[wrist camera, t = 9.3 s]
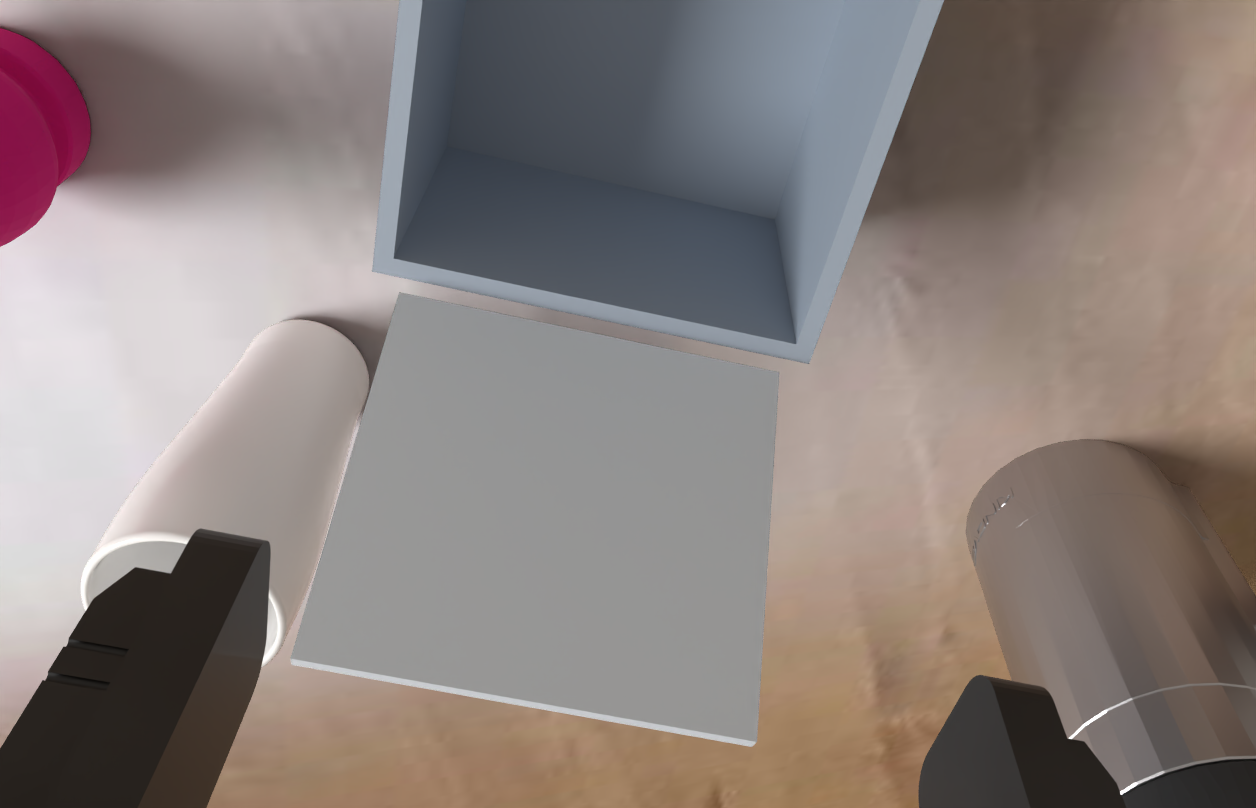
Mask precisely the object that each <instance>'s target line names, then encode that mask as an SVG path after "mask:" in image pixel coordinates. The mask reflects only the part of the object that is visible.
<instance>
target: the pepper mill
mask: <svg viewBox="0 0 1256 808" xmlns="http://www.w3.org/2000/svg"><path fill="white" fill-rule="evenodd" d="M90 136H91V128H90V118H89V114H88V111H87V108H86V104H85V101H84V99H83V97H82V95H81V93H80V91H79V89H78V87H77V85H76V83H75V81H74V80H73V79H72V78H71V76H70V75H69V74H68V72H67V71H66V70H65V69H64V67H63V66H62V65H61V64H60V63H59V62H58V60H57V59H55V58H54V57H53V56H52V55H50V54H49V53H48V52H47V51H45V50H44V49H43V48H41V47H40V46H39V45H37V44H36V43H35V42H33V41H32V40H30V39H28V38H26V37H24V36H22V35H19V34H16V33H14V32H11V31H9V30H6V29H2V28H0V247H1V246H3V245H5V244H7V243H9V242H11V241H12V240H14V239H16V238H17V237H19V236H20V235H22V234H23V233H25V232H26V231H28V230H29V229H30V228H32V227H33V226H34V225H36V224H37V223H38V221H39V220H40V219H41V218H42V217H43V215H44V214H45V213H46V211H47V210H48V208H49V207H50V205H51V202H52V200H53V197H54V195H55V192H56V188H57V186H58V185H60V184H61V183H62V182H63V181H64V180H66V179H67V178H68V177H69V176H70V175H72V174H73V173H74V172H75V171H76V170H77V169H78V168H79V166H80V165H81V164H82V162H83V160H84V159H85V156H86V154H87V151H88V148H89V144H90Z"/></svg>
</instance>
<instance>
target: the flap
mask: <svg viewBox="0 0 1256 808" xmlns="http://www.w3.org/2000/svg"><path fill="white" fill-rule="evenodd" d="M778 385H779V372H776V371H771V370H766V369H762V368H757V367H752V366H747V365H743V364H738V363H733V362H728V361H724V360H719V359H714V358H709V357H705V356H700V355H695V354H690V353H686V352H681V351H676V350H671V349H667V348H662V347H657V346H652V345H648V344H643V343H638V342H633V341H629V340H624V339H619V338H614V337H610V336H605V335H600V334H595V333H591V332H586V331H581V330H576V329H572V328H567V327H562V326H557V325H553V324H548V323H543V322H538V321H534V320H529V319H524V318H519V317H515V316H510V315H505V314H500V313H496V312H491V311H486V310H481V309H477V308H472V307H467V306H462V305H458V304H453V303H448V302H443V301H439V300H434V299H429V298H424V297H420V296H415V295H410V294H405V293H401V292H399V295H398V299H397V302H396V305H395V309H394V312H393V315H392V319H391V322H390V326H389V329H388V332H387V336H386V339H385V342H384V346H383V349H382V352H381V356H380V359H379V363H378V366H377V369H376V373H375V376H374V379H373V383H372V386H371V389H370V393H369V396H368V400H367V403H366V406H365V410H364V413H363V416H362V420H361V423H360V426H359V430H358V433H357V437H356V440H355V443H354V447H353V450H352V453H351V457H350V460H349V463H348V467H347V470H346V474H345V477H344V480H343V484H342V487H341V490H340V494H339V497H338V500H337V504H336V507H335V511H334V514H333V517H332V521H331V524H330V527H329V531H328V534H327V538H326V541H325V544H324V548H323V551H322V554H321V558H320V561H319V564H318V568H317V571H316V575H315V578H314V581H313V585H312V588H311V591H310V595H309V598H308V601H307V605H306V608H305V612H304V615H303V618H302V622H301V625H300V628H299V632H298V635H297V638H296V642H295V645H294V649H293V652H292V655H291V663H292V665H296V666H301V667H307V668H313V669H318V670H324V671H329V672H335V673H341V674H346V675H352V676H357V677H363V678H369V679H374V680H380V681H386V682H391V683H397V684H402V685H408V686H414V687H419V688H425V689H430V690H436V691H442V692H447V693H453V694H458V695H464V696H470V697H475V698H481V699H487V700H492V701H498V702H503V703H509V704H515V705H520V706H526V707H531V708H537V709H543V710H548V711H554V712H559V713H565V714H571V715H576V716H582V717H587V718H593V719H599V720H604V721H610V722H616V723H621V724H627V725H632V726H638V727H644V728H649V729H655V730H660V731H666V732H672V733H677V734H683V735H688V736H694V737H700V738H705V739H711V740H716V741H722V742H728V743H733V744H739V745H745V746H750V747H752V746H753V745H754V744H755V743H756V742H757V731H758V714H759V698H760V681H761V665H762V649H763V632H764V616H765V599H766V583H767V566H768V550H769V533H770V517H771V501H772V484H773V468H774V451H775V435H776V418H777V402H778Z"/></svg>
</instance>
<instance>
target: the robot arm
mask: <svg viewBox="0 0 1256 808" xmlns="http://www.w3.org/2000/svg"><path fill="white" fill-rule="evenodd" d="M966 537H967V542H968V547H969V551H970V554H971V557H972V560H973V563H974V566H975V569H976V572H977V575H978V578H979V581H980V584H981V587H982V590H983V593H984V596H985V600H986V603H987V607H988V610H989V613H990V616H991V619H992V622H993V625H994V628H995V631H996V634H997V637H998V640H999V643H1000V646H1001V649H1002V652H1003V655H1004V658H1005V661H1006V664H1007V667H1008V670H1009V673H1010V676H1011V679H1012V681H1010V680H1004V679H999V678H993V677H988V676H983V675H978V676H975V677H974V678H973V679H972V680H971V681H970V682H969V683H968V685H967V686H966V688H965V690H964V691H963V693H962V695H961V696H960V698H959V700H958V702H957V703H956V705H955V707H954V709H953V710H952V712H951V714H950V715H949V717H948V719H947V721H946V722H945V724H944V726H943V728H942V729H941V731H940V733H939V734H938V736H937V738H936V740H935V741H934V743H933V745H932V747H931V748H930V750H929V752H928V754H927V756H926V758H925V760H924V763H923V766H922V770H921V775H920V781H919V808H1256V596H1255V594H1254V592H1253V591H1252V589H1251V588H1250V586H1249V584H1248V583H1247V581H1246V579H1245V578H1244V576H1243V575H1242V573H1241V571H1240V570H1239V568H1238V567H1237V565H1236V563H1235V562H1234V560H1233V558H1232V557H1231V555H1230V554H1229V552H1228V550H1227V549H1226V547H1225V545H1224V544H1223V542H1222V541H1221V539H1220V537H1219V536H1218V534H1217V533H1216V531H1215V529H1214V528H1213V526H1212V524H1211V523H1210V521H1209V520H1208V518H1207V516H1206V515H1205V513H1204V511H1203V510H1202V508H1201V507H1200V505H1199V503H1198V502H1197V500H1196V499H1195V497H1194V495H1193V494H1192V492H1191V490H1190V489H1189V488H1188V487H1186V486H1181V485H1176V484H1174V483H1171V482H1169V481H1168V480H1167V479H1166V477H1165V476H1164V475H1163V473H1162V472H1161V471H1160V469H1159V468H1158V467H1157V465H1156V464H1155V463H1154V462H1153V461H1151V460H1150V459H1149V458H1147V457H1146V456H1145V455H1144V454H1142V453H1141V452H1139V451H1136V450H1134V449H1132V448H1130V447H1127V446H1125V445H1122V444H1118V443H1113V442H1109V441H1104V440H1083V439H1080V440H1072V441H1065V442H1058V443H1054V444H1051V445H1047V446H1044V447H1041V448H1037V449H1035V450H1033V451H1030V452H1028V453H1026V454H1024V455H1022V456H1020V457H1018V458H1016V459H1014V460H1013V461H1011V462H1010V463H1008V464H1007V465H1005V466H1004V467H1003V468H1001V469H1000V470H998V471H997V472H996V473H995V474H994V475H993V476H992V477H991V478H990V479H989V480H988V481H987V482H986V483H985V484H984V485H983V487H982V488H981V490H980V491H979V493H978V494H977V496H976V497H975V499H974V500H973V502H972V505H971V508H970V510H969V513H968V516H967V523H966ZM270 558H271V549H270V543H269V541H266V540H261V539H255V538H250V537H245V536H239V535H234V534H228V533H223V532H218V531H212V530H207V529H201V528H200V529H198V530H196V531H195V532H194V534H193V535H192V536H191V538H190V540H189V541H188V543H187V545H186V547H185V549H184V550H183V552H182V554H181V556H180V558H179V559H178V561H177V563H176V565H175V567H174V568H173V570H172V572H171V573H166V572H160V571H155V570H149V569H143V568H138V567H135V568H134V569H132V570H131V571H130V572H128V573H127V574H126V575H124V576H123V577H122V578H120V579H119V580H118V581H116V582H115V583H114V584H112V585H111V586H109V587H108V588H107V589H105V590H104V591H103V592H101V593H100V594H99V595H97V596H96V597H95V598H94V599H93V600H92V602H91V603H90V605H89V607H88V608H87V610H86V611H85V613H84V615H83V616H82V618H81V620H80V621H79V623H78V624H77V626H76V628H75V629H74V631H73V632H72V634H71V636H70V637H69V641H68V644H67V646H66V647H63V649H62V650H61V652H60V653H59V655H58V657H57V658H56V660H55V661H54V663H53V665H52V666H51V668H50V669H49V671H48V676H47V679H46V680H45V681H44V680H43V681H42V682H41V684H40V686H39V687H38V689H37V690H36V692H35V694H34V695H33V697H32V698H31V700H30V702H29V703H28V705H27V707H26V708H25V710H24V711H23V713H22V715H21V716H20V718H19V719H18V721H17V723H16V724H15V726H14V727H13V729H12V731H11V732H10V734H9V735H8V737H7V739H6V740H5V742H4V744H3V745H2V747H1V748H0V808H206V807H207V805H208V802H209V800H210V797H211V795H212V792H213V790H214V788H215V785H216V783H217V780H218V778H219V775H220V773H221V770H222V768H223V766H224V763H225V761H226V758H227V756H228V753H229V751H230V748H231V746H232V744H233V741H234V739H235V736H236V734H237V731H238V729H239V727H240V724H241V722H242V719H243V717H244V714H245V712H246V709H247V707H248V705H249V702H250V700H251V697H252V695H253V692H254V689H255V686H256V683H257V680H258V677H259V673H260V670H261V666H262V662H263V657H264V652H265V646H266V639H267V621H268V600H269V579H270Z"/></svg>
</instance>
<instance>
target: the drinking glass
mask: <svg viewBox="0 0 1256 808" xmlns="http://www.w3.org/2000/svg"><path fill="white" fill-rule="evenodd" d="M368 389H369V374H368V369H367V366H366V363H365V361H364V359H363V357H362V355H361V353H360V352H359V350H358V349H357V348H356V346H355V345H354V344H353V343H352V342H351V341H350V340H349V339H348V338H347V337H346V336H344V335H343V334H342V333H340V332H339V331H337V330H335V329H333V328H331V327H329V326H327V325H325V324H322V323H319V322H315V321H309V320H287V321H282V322H279V323H276V324H273V325H271V326H269V327H267V328H266V329H264V330H263V331H261V332H260V333H259V334H258V335H257V336H256V337H255V338H254V339H253V340H252V342H251V343H250V344H249V346H248V347H247V349H246V350H245V352H244V354H243V355H242V357H241V358H240V360H239V361H238V363H237V364H236V365H235V366H234V367H233V369H232V370H231V371H230V372H229V374H228V375H227V376H226V377H225V378H224V380H223V381H222V382H221V383H220V384H219V386H218V387H217V388H216V389H215V390H214V392H213V393H212V394H211V395H210V396H209V398H208V399H207V400H206V401H205V402H204V404H203V405H202V406H201V407H200V408H199V409H198V411H197V412H196V413H195V414H194V415H193V417H192V418H191V419H190V420H189V421H188V422H187V424H186V425H185V426H184V427H183V428H182V430H181V431H180V432H179V433H178V434H177V435H176V437H175V438H174V439H173V440H172V441H171V442H170V444H169V445H168V446H167V447H166V448H165V449H164V451H163V452H162V453H161V454H160V455H159V457H158V458H157V459H156V460H155V461H154V463H153V464H152V465H151V466H150V467H149V469H148V470H147V471H146V472H145V474H144V475H143V476H142V478H141V479H140V480H139V481H138V483H137V484H136V486H135V487H134V488H133V490H132V491H131V493H130V494H129V495H128V497H127V498H126V500H125V501H124V503H123V504H122V506H121V507H120V509H119V510H118V512H117V513H116V515H115V516H114V518H113V520H112V521H111V523H110V524H109V526H108V528H107V529H106V531H105V533H104V534H103V536H102V538H101V540H100V541H99V543H98V545H97V547H96V549H95V551H94V552H93V554H92V556H91V558H90V559H89V561H88V562H87V564H86V566H85V568H84V571H83V574H82V578H81V599H82V603H83V606H84V609H85V611H86V610H87V608H88V607H89V605H90V603H91V602H92V600H93V599H94V598H95V597H96V596H97V595H99V594H100V593H101V592H103V591H104V590H105V589H107V588H108V587H109V586H111V585H112V584H114V583H115V582H116V581H118V580H119V579H120V578H122V577H123V576H124V575H126V574H127V573H128V572H130V571H131V570H132V569H134V568H135V567H138V568H143V569H149V570H155V571H160V572H166V573H171V572H172V570H173V568H174V567H175V565H176V563H177V561H178V559H179V558H180V556H181V554H182V552H183V550H184V549H185V547H186V545H187V543H188V541H189V540H190V538H191V536H192V535H193V534H194V532H195V531H196V530H198V529H200V528H201V529H207V530H212V531H218V532H223V533H228V534H234V535H239V536H245V537H250V538H255V539H261V540H266V541H269V543H270V549H271V558H270V579H269V600H268V621H267V639H266V646H265V652H264V657H263V662H262V666H261V668H262V667H264V666H265V665H267V664H268V663H269V662H270V661H271V660H272V659H273V658H274V657H275V656H276V655H277V653H278V652H279V650H280V649H281V647H282V645H283V643H284V641H285V638H286V636H287V634H288V632H289V630H290V628H291V626H292V624H293V622H294V620H295V618H296V616H297V614H298V611H299V609H300V607H301V605H302V602H303V600H304V598H305V596H306V593H307V591H308V588H309V586H310V583H311V581H312V578H313V575H314V572H315V570H316V567H317V564H318V561H319V558H320V554H321V551H322V548H323V545H324V541H325V538H326V534H327V530H328V527H329V523H330V519H331V515H332V512H333V508H334V504H335V500H336V497H337V493H338V489H339V485H340V481H341V478H342V474H343V470H344V467H345V463H346V459H347V456H348V452H349V448H350V445H351V441H352V438H353V434H354V431H355V427H356V424H357V420H358V417H359V415H360V412H361V410H362V408H363V405H364V403H365V400H366V397H367V394H368Z"/></svg>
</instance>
